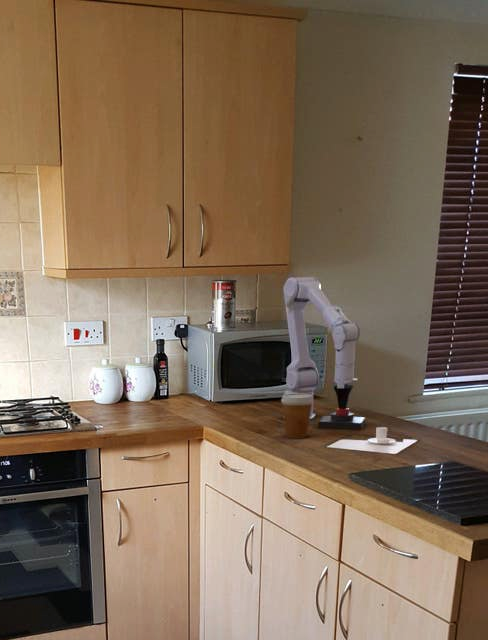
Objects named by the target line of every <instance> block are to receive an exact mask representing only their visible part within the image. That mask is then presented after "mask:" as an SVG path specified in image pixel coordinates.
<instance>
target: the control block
mask: <svg viewBox="0 0 488 640" xmlns="http://www.w3.org/2000/svg"><path fill="white" fill-rule="evenodd" d="M365 423H366V417H362V416H355V413H354V412H350V411H349V414H348V415H337V414H336V411H333V412H331V413H330V415H323V416H322V417H321V418H320V419H319V421H318V429H325V430H346V431H347V430H348V431H349V430H351V431H361V430H362V429H363V428H364V426H365Z"/></svg>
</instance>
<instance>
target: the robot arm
mask: <svg viewBox="0 0 488 640" xmlns="http://www.w3.org/2000/svg"><path fill="white" fill-rule="evenodd" d="M321 285H322V284H321V282H320V280H319V279H318V278H317V277H315V276H307V277H306V276H305V277H304V276H303V277H294V276H293V277H292V276H291V277H289V278H288V279H286V281H285V283H284V285H283V287H282V290H283V297H284V305H285V312H286V320H287V327H288V336H289V342H290V351H291V358H292V361H291V362H290V364H289V365H288V366H287V367H286V378H285V382H286V383H285V384H286V386H287V388H288V389H286V390H284V394H283V395H285V394H294V393H301V394H310V395H312V398H313V399H314V391H315V390H316V387H318V385H319V383H320V373H319V371H318V369H317V364H316V363H315V362H314V361H313V360H312V359H311V358H310V353H309V345H308V338H307V330H306V323H305V321H306V320H305V314H304V309H305V307H306V306H307V305H308V304H310V302H311V303H312V304H313V305H314V306H315V307H316V308H317V309H318V311H320V313H322V317H321V318H322V321H323V323H325V325H326V326H327V328H329V330H330V331H331V332H332V333H331V337H332V341H333V342H334V343H333V344H334V346H333V347H334V349H335V361H334V378H333V382H334V383H336V385H333V390H334V392H335V395H336V398H337V400H336V401H337V406H338V407H337V408H339V409H346V408H348V404H349V400H350V399H349V398H350V395H351V392H352V390H353V389H354V387H355V385H354V384H351V383H354V382H358V378H355V377H354V376H355V375H354V374H355V359H356V356H355V355H356V342H357V341H358V340H359V339H360V336H361V329H360V326H359V325H358V323H357V322H355V321H351V320H349V318H348V317H346V316H345V314H344V313H343V312H342V309H341V308H340V307H339V306H337V305H332V304H331V302H330V301H329V299H328V298H327V296H326V295H325V294H324V292H323V290H322V289H321ZM315 416H316V413H314V402H313V403H312V406H311V413H310V419H309V420H312V419H314V417H315ZM282 419H284V414H283V415H282Z"/></svg>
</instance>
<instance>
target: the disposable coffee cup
mask: <svg viewBox="0 0 488 640" xmlns="http://www.w3.org/2000/svg"><path fill="white" fill-rule="evenodd" d="M284 394H285V393H284ZM284 394H282V397H281V399H280V401H281V404H282V411H283V414H284V418H283V421H284V422H283V425H284V433H285V437H286V438H290V439H303V438H307V437H308V431H309V424H310V420H311V419H310V413H311V406H312V403H313V404H314V397H313V398H312V395H310V394H301V393H294V394H285V395H284Z"/></svg>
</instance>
